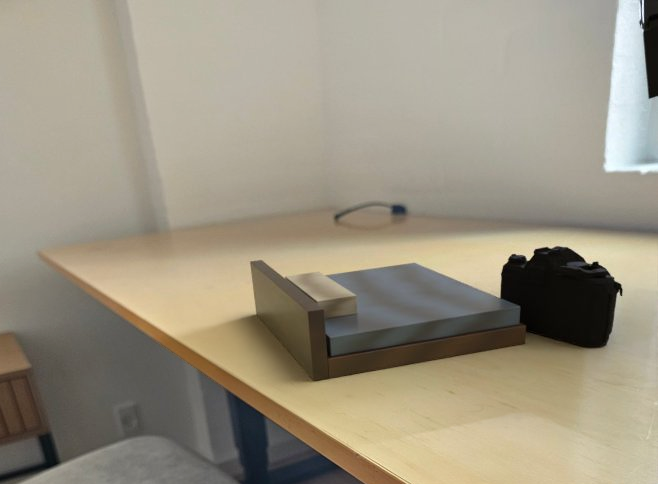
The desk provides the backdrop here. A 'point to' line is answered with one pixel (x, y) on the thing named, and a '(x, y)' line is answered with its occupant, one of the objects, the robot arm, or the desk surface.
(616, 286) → the film camera
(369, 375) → the desk surface
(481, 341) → the bed
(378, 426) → the desk surface
